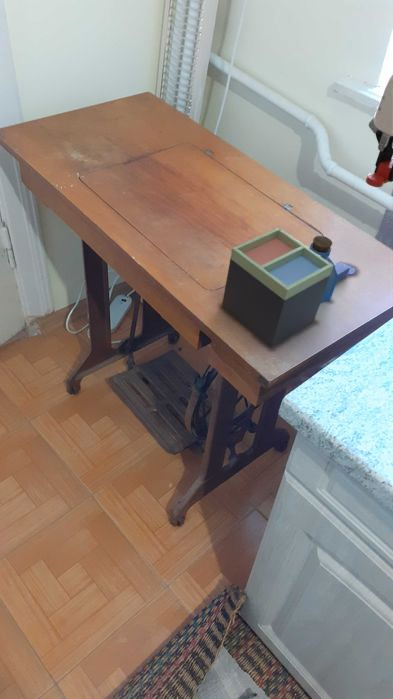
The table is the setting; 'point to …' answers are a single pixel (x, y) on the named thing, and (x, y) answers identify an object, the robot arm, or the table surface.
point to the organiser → (281, 263)
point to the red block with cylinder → (380, 174)
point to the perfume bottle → (323, 249)
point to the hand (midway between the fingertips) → (387, 175)
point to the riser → (269, 306)
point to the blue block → (344, 270)
